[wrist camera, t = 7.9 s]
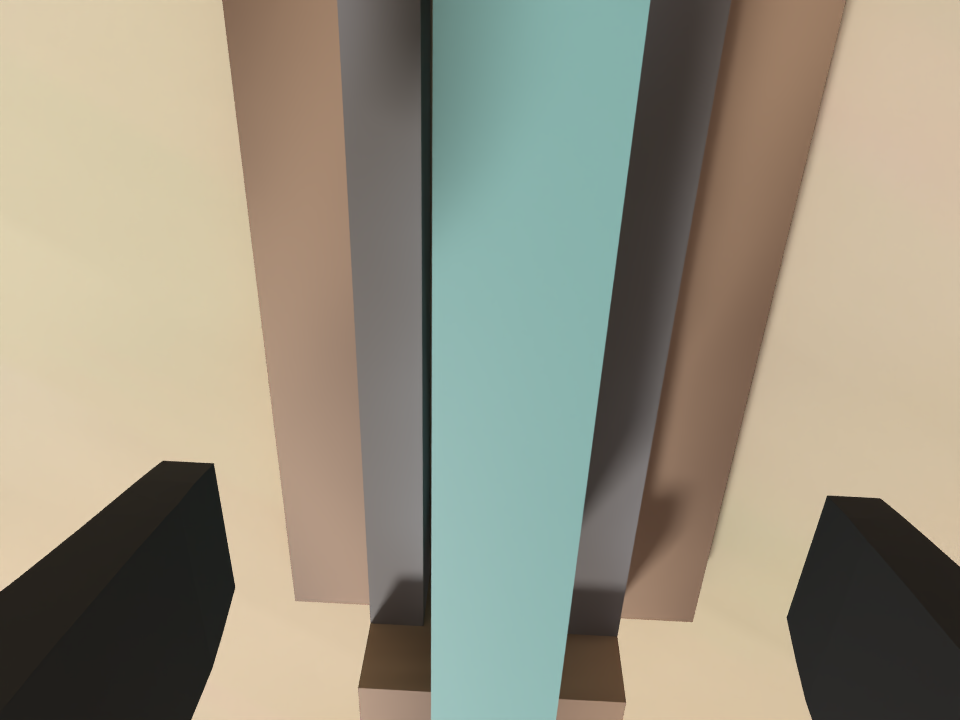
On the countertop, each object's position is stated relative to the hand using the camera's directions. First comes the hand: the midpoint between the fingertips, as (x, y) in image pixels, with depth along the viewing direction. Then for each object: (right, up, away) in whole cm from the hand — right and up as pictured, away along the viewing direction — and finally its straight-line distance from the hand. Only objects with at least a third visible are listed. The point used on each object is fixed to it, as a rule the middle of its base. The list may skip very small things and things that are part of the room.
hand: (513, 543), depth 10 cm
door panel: (0, +4, +6) cm, 7 cm away
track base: (0, +4, +7) cm, 8 cm away
